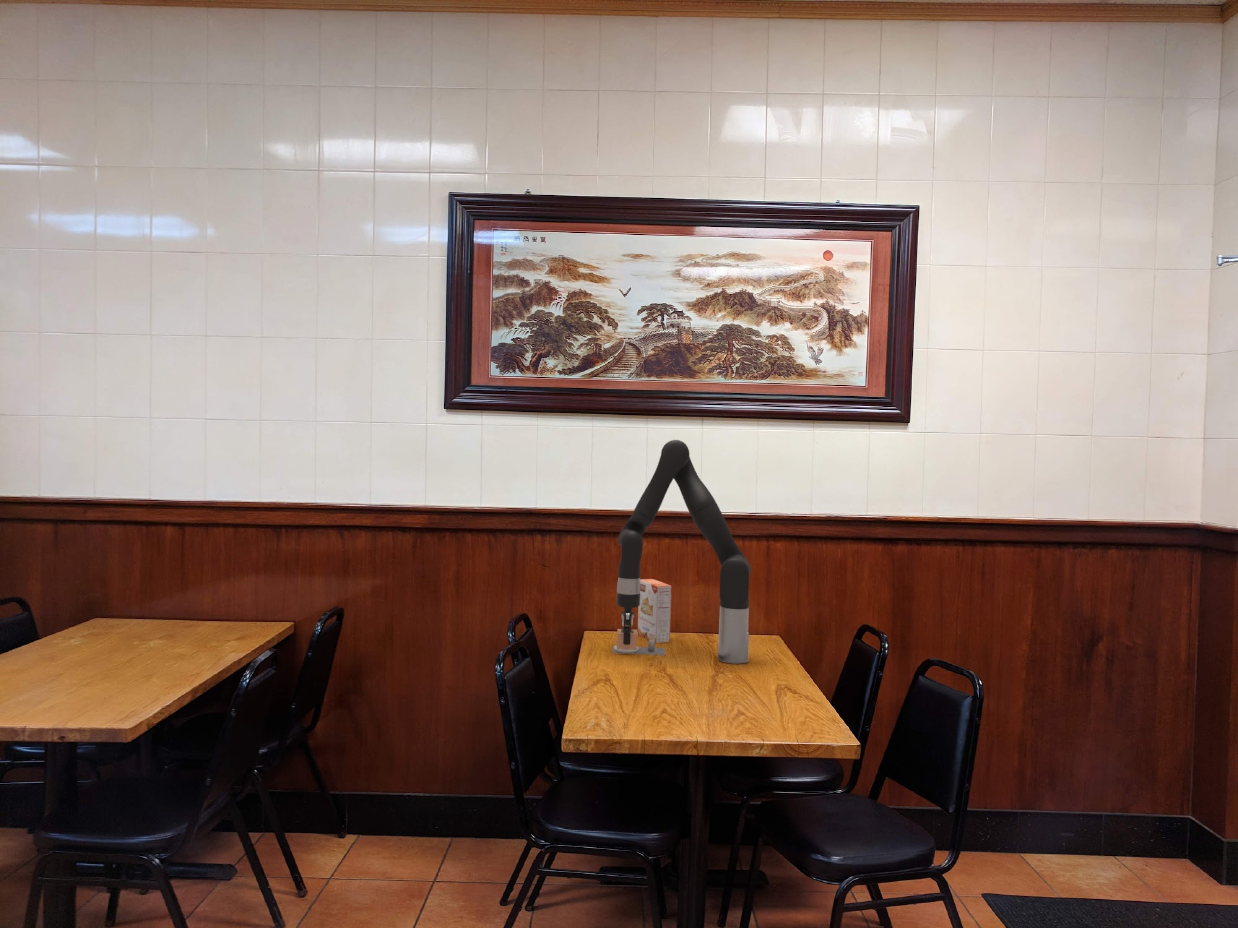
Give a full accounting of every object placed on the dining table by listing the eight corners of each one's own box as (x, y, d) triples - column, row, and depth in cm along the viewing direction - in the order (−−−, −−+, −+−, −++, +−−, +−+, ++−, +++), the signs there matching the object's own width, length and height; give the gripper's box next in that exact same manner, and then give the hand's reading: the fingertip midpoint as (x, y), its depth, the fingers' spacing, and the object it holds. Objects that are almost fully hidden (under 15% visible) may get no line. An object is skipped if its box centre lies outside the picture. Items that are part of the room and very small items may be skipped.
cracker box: (636, 637, 288) (638, 578, 287) (651, 636, 290) (653, 578, 290) (654, 647, 275) (656, 585, 274) (670, 645, 277) (672, 584, 277)
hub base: (664, 652, 268) (665, 633, 268) (665, 659, 259) (666, 639, 259) (612, 650, 268) (613, 631, 268) (612, 657, 259) (612, 637, 259)
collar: (636, 644, 267) (637, 629, 267) (636, 649, 260) (637, 633, 260) (617, 644, 267) (617, 628, 267) (616, 648, 260) (617, 633, 260)
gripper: (640, 595, 256) (638, 647, 256) (640, 588, 270) (638, 636, 271) (616, 594, 256) (614, 646, 257) (617, 587, 270) (615, 635, 271)
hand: (626, 641), depth 264 cm, fingers open, 8 cm apart
